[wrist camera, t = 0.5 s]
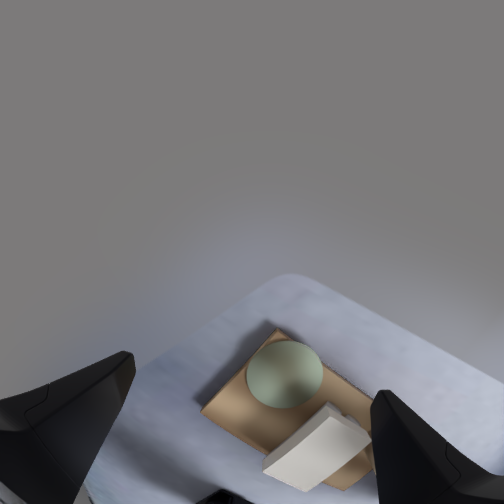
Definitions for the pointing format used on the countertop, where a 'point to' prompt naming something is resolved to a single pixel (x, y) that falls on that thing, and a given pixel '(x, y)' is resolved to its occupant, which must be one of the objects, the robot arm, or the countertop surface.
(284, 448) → the slab
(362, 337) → the countertop surface
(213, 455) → the countertop surface
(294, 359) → the wooden board
